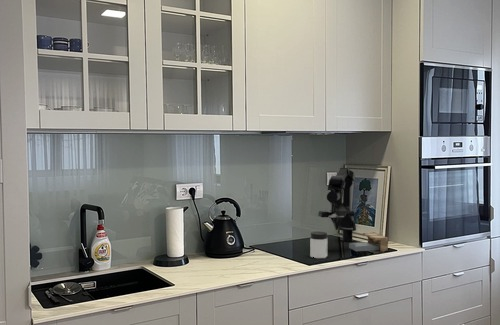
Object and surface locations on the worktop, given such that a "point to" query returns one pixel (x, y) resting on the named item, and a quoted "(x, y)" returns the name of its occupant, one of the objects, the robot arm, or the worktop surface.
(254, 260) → the worktop surface
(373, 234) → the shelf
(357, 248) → the slate board
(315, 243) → the jar
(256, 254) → the worktop surface
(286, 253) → the worktop surface
